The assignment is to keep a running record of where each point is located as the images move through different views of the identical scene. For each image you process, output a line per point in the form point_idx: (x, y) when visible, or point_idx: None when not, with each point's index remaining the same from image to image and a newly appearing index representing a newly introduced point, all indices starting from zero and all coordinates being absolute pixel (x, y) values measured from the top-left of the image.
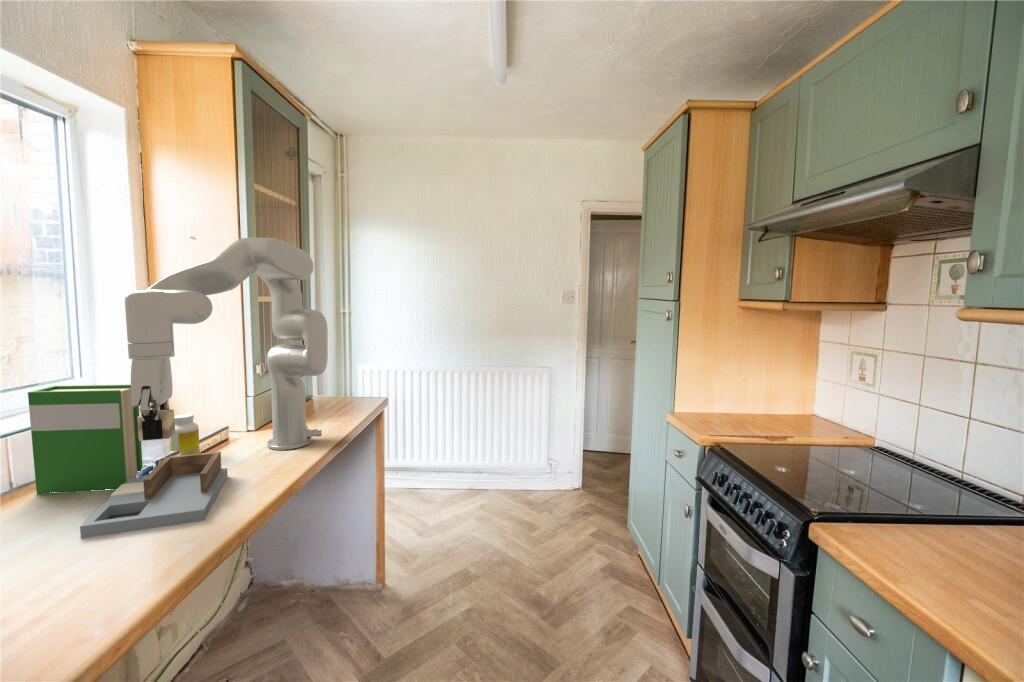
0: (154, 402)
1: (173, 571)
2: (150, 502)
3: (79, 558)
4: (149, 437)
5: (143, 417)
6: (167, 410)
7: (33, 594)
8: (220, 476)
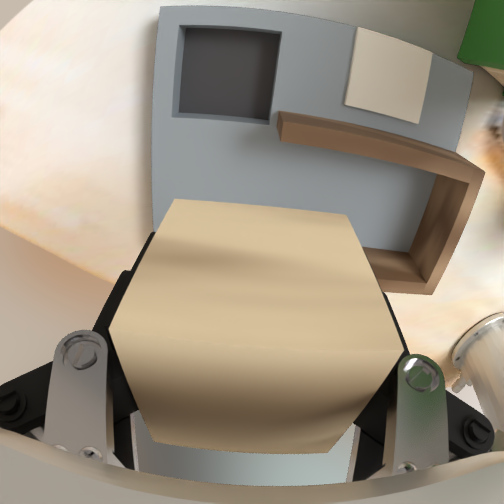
0: (378, 477)
1: (15, 214)
2: (252, 127)
3: (77, 52)
4: None
5: (26, 375)
6: (310, 442)
7: (2, 52)
8: None
